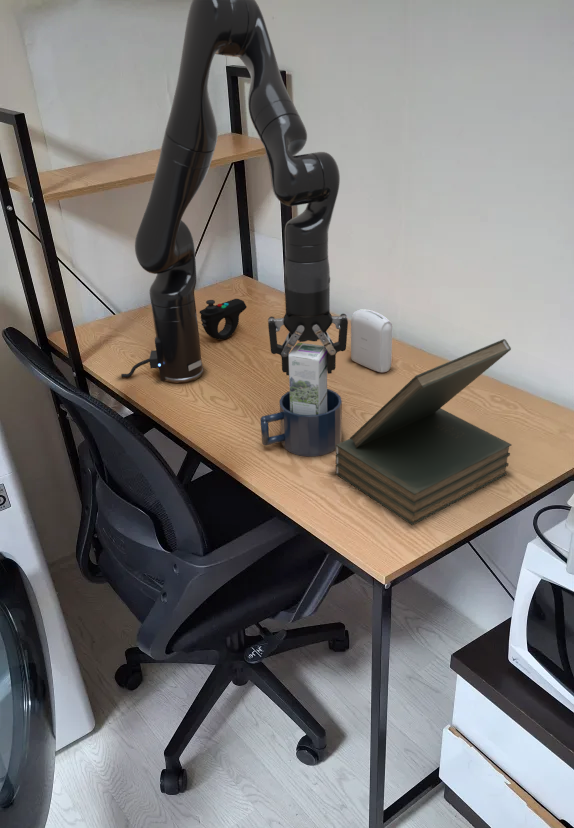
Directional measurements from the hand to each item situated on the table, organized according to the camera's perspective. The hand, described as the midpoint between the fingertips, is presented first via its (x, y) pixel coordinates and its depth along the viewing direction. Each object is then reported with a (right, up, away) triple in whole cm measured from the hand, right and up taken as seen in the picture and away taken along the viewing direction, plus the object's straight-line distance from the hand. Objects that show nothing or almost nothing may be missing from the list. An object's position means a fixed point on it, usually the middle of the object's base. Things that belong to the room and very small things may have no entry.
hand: (308, 372), depth 140 cm
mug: (-1, -12, +8) cm, 14 cm away
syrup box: (0, -8, +6) cm, 10 cm away
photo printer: (+15, +7, +34) cm, 37 cm away
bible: (+20, -19, -2) cm, 27 cm away
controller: (-19, +17, +49) cm, 55 cm away
